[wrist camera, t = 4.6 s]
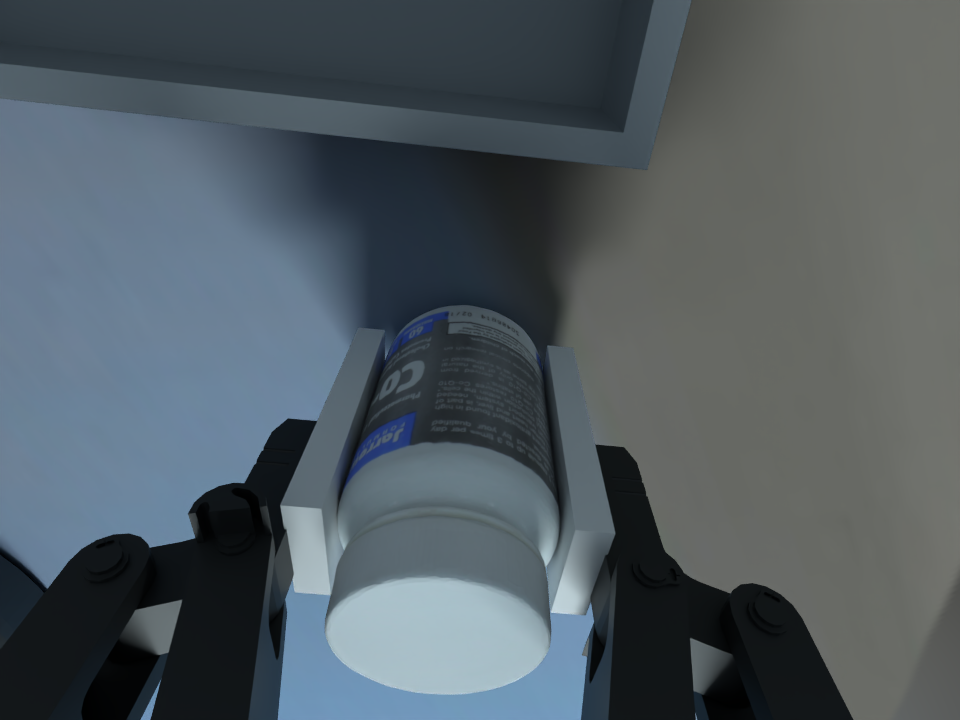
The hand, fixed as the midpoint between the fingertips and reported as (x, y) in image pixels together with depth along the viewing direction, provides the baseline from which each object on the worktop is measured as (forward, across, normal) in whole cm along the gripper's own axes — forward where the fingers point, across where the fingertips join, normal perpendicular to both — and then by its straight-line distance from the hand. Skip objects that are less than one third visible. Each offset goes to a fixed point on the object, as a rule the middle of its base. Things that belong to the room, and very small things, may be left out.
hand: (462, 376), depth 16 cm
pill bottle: (+1, 0, 0) cm, 1 cm away
